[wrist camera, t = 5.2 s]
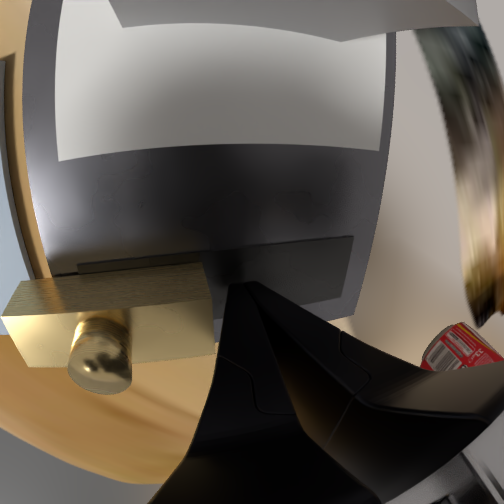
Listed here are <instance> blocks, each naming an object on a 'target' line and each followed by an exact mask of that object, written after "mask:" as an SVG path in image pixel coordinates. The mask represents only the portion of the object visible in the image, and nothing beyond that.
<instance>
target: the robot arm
mask: <svg viewBox="0 0 504 504" xmlns="http://www.w3.org/2000/svg"><path fill="white" fill-rule="evenodd" d="M147 504H504V360H502V361H498V362H493V363H489V364H483V365H478V366H473V367H467V368H461V369H454V370H447V371H432V370H427V369H423V368H421V367H418V366H415V365H413V364H411V363H408V362H406V361H404V360H401V359H399V358H397V357H394V356H392V355H390V354H388V353H385V352H383V351H381V350H379V349H377V348H375V347H372V346H370V345H368V344H366V343H364V342H362V341H361V340H359V339H357V338H355V337H353V336H351V335H349V334H348V333H346V332H344V331H341V330H340V329H339V328H337V327H335V326H333V325H332V324H330V323H328V322H326V321H325V320H323V319H321V318H320V317H318V316H316V315H314V314H313V313H311V312H309V311H307V310H306V309H304V308H302V307H300V306H299V305H297V304H295V303H294V302H292V301H290V300H288V299H287V298H285V297H283V296H282V295H280V294H278V293H277V292H275V291H273V290H271V289H270V288H268V287H266V286H265V285H263V284H261V283H260V282H258V281H249V282H244V283H233V284H229V286H228V292H227V298H226V304H225V310H224V316H223V322H222V328H221V334H220V340H219V346H218V352H217V358H216V364H215V370H214V375H213V379H212V384H211V387H210V390H209V394H208V397H207V400H206V403H205V406H204V409H203V411H202V414H201V417H200V420H199V423H198V425H197V428H196V431H195V434H194V437H193V439H192V442H191V444H190V446H189V449H188V451H187V453H186V455H185V456H184V458H183V460H182V461H181V462H180V464H179V465H178V466H177V468H176V469H175V470H174V471H173V473H172V474H171V475H170V476H169V478H168V479H167V480H166V481H165V483H164V484H163V485H162V486H161V488H160V489H159V490H158V491H157V493H156V494H155V495H154V496H153V497H152V499H151V500H150V501H149V502H148V503H147Z"/></svg>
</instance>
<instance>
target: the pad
mask: <svg viewBox="0 0 504 504" xmlns="http://www.w3.org/2000/svg"><path fill="white" fill-rule="evenodd" d="M4 76H5V61H1V60H0V335H10V334H9V332H8V330H7V328H6V326H5V324H4V322H3V320H2V318H1V315H2V313H3V312H4V310H5V308H6V306H7V304H8V302H9V300H10V299H11V297H12V295H13V293H14V292H15V290H16V288H17V286H18V285H19V283H20V281H25V280H35V276H34V273H33V270H32V267H31V264H30V261H29V257H28V254H27V251H26V247H25V244H24V240H23V237H22V233H21V229H20V225H19V221H18V216H17V212H16V207H15V203H14V197H13V192H12V186H11V180H10V174H9V167H8V159H7V150H6V139H5V123H4Z"/></svg>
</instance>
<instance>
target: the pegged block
mask: <svg viewBox="0 0 504 504" xmlns="http://www.w3.org/2000/svg"><path fill="white" fill-rule="evenodd" d="M1 318H2V320H3V322H4V324H5V326H6V328H7V330H8V332H9V334H10V336H11V338H12V339H13V341H14V343H15V345H16V346H17V348H18V350H19V352H20V353H21V355H22V357H23V358H24V360H25V362H26V363H27V365H28V366H29V367H68V373H69V375H70V377H71V378H72V380H73V381H74V382H75V383H76V384H78V385H79V386H80V387H82V388H84V389H86V390H88V391H90V392H93V393H97V394H105V395H110V394H117V393H120V392H123V391H124V390H126V389H127V388H128V387H129V386H130V384H131V382H132V364H135V363H146V362H157V361H166V360H175V359H183V358H190V357H198V356H205V355H212V354H215V340H214V325H213V308H212V297H211V293H210V290H209V287H208V283H207V280H206V276H205V272H204V269H203V265H202V262H196V263H187V264H178V265H168V266H159V267H150V268H141V269H131V270H122V271H112V272H103V273H93V274H84V275H74V276H64V277H55V278H45V279H35V280H25V281H20V283H19V285H18V286H17V288H16V290H15V292H14V293H13V295H12V297H11V299H10V300H9V302H8V304H7V306H6V308H5V310H4V312H3V313H2V315H1Z"/></svg>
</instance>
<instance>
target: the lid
mask: <svg viewBox="0 0 504 504" xmlns="http://www.w3.org/2000/svg"><path fill="white" fill-rule="evenodd" d="M454 26H479V21H478V13H477V5H476V0H63V4H62V10H61V16H60V23H59V31H58V41H57V52H56V69H55V120H56V137H57V150H58V160H59V161H64V160H70V159H75V158H81V157H87V156H93V155H100V154H107V153H114V152H122V151H131V150H140V149H149V148H160V147H173V146H188V145H208V144H298V145H317V146H332V147H345V148H356V149H366V150H375V151H379V147H380V138H381V129H382V118H383V106H384V92H385V72H386V33H390V32H397V31H404V30H412V29H422V28H434V27H454Z"/></svg>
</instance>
